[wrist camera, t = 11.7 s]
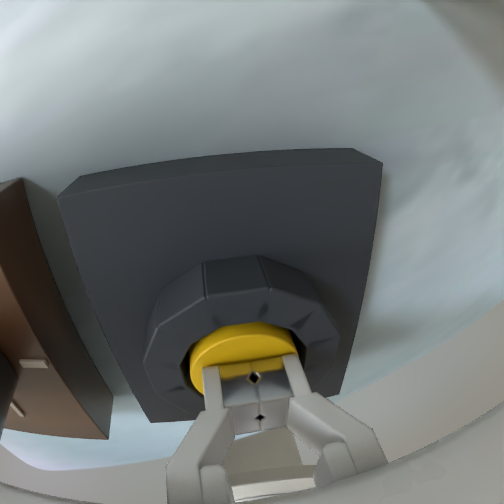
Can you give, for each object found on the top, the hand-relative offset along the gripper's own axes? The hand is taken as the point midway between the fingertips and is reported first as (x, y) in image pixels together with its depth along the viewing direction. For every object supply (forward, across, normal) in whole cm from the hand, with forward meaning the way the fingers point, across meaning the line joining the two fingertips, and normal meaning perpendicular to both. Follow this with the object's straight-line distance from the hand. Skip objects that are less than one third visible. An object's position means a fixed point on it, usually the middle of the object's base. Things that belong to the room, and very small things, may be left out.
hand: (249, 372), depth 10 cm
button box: (+4, 0, 0) cm, 4 cm away
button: (+2, 0, 0) cm, 2 cm away
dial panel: (+4, +12, 0) cm, 13 cm away
